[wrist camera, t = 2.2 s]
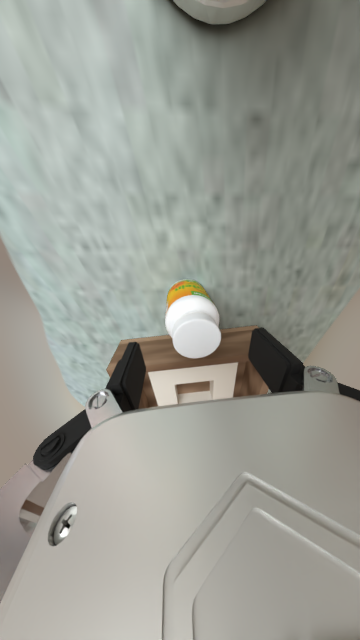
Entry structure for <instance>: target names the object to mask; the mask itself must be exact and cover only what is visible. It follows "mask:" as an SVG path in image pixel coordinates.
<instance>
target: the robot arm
mask: <svg viewBox="0 0 360 640" xmlns="http://www.w3.org/2000/svg"><path fill="white" fill-rule="evenodd" d="M173 1H174V2H175V3H176V5H177V6H179V7H180V8H181V9H183V10H184V11H185V12H186V13H188V14H189V15H190V16H192V17H193V18H195V19H198V20H200V21H203V22H206V23H209V24H229V23H232V22H235V21H237V20H240V19H242V18H245V17H247V16H248V15H249V14H251V13H252V12H253V11H255V10H256V9H257V8H259V7H260V6H261V5H263V4H264V3H265V2H266V0H173ZM248 358H249V360H250V362H251V363H252V365H253V366H254V367H255V369H256V370H257V372H258V373H259V375H260V376H261V378H262V379H263V381H264V382H265V383H266V385H267V386H268V388H269V389H270V391H271V392H272V393H269V394H260V395H251V396H242V397H233V398H224V399H215V400H206V401H198V402H189V403H181V404H173V405H164V406H157V407H150V408H142V409H139V404H140V399H141V394H142V389H143V384H144V379H145V374H146V365H145V362H144V359H143V355H142V352H141V348H140V345H139V343H137V342H129V343H128V345H127V347H126V350H125V352H124V354H123V356H122V359H121V360H119V361H118V362H117V365H116V367H115V369H114V371H113V373H112V375H111V378H110V380H109V382H108V384H107V386H106V388H105V389H102V390H99V391H97V392H95V393H94V394H93V395H91V396H90V398H89V399H88V400H87V402H86V405H85V410H83V411H82V412H81V413H79V414H78V415H77V416H75V417H74V418H73V419H71V420H70V421H68V422H67V423H66V424H65V425H63V426H62V427H60V428H59V429H58V430H56V431H55V432H54V433H52V434H51V435H50V436H48V437H47V438H46V439H45V440H44V441H43V442H42V443H41V444H40V445H39V447H38V448H37V450H36V452H35V454H34V456H33V460H32V461H31V462H30V463H29V464H28V465H27V464H25V465H24V466H22V467H21V468H20V470H19V471H17V472H16V473H15V474H14V475H13V476H12V478H11V479H9V480H8V481H7V482H6V483H5V485H4V486H2V487H1V489H0V640H360V391H359V390H357V389H354V388H351V387H349V386H346V385H343V384H340V383H338V382H337V380H336V378H335V377H334V375H332V374H331V373H330V372H328V371H327V370H325V369H323V368H320V367H316V366H307V367H305V366H304V365H303V363H302V362H301V361H300V360H299V359H298V358H297V357H296V356H295V355H293V354H292V353H291V352H290V351H289V350H288V349H287V348H286V347H284V346H283V345H282V344H281V343H280V342H279V341H278V340H276V339H275V338H274V337H273V336H272V335H271V334H270V333H269V332H267V331H266V330H265V329H264V328H255V329H254V330H253V331H252V335H251V341H250V346H249V352H248Z"/></svg>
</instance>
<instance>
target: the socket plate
mask: <svg viewBox="0 0 360 640" xmlns="http://www.w3.org/2000/svg"><path fill="white" fill-rule="evenodd" d="M237 366H238V362H237V363H228V364H219V365H210V366H200V367H191V368H182V369H173V370H164V371H154V372H148V374H149V378H150V381H151V384H152V387H153V391H154V394H155V397H156V401H157V404H158V406H164V405H173V404H181V403H189V402H198V401H206V400H215V399H224V398H233V392H234V386H235V379H236V373H237ZM203 381H210V391H203V392H193V393H184V394H178V392H177V386H176V384H185V383H194V382H203Z"/></svg>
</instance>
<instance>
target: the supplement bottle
mask: <svg viewBox="0 0 360 640" xmlns="http://www.w3.org/2000/svg"><path fill="white" fill-rule="evenodd" d="M165 325H166V329H167V331H168V333H169V335H170V336H171V337H172V340H173V345H174V348H175V349H176V351H177V352H178V353H179V354H181V355H182V356H185V357H188V358H202V357H205V356H208V355H209V354H211V353H212V352H214V351H215V350H216V349H217V347H218V346H219V344H220V341H221V332H220V329H219V327H218V326H219V313H218V310H217V308H216V306H215V305H214V303H213V302H212V300H211V299H210V297H209V296H208V294H207V293H206V291H205V290H204V288H203V287H202V286H201V285H200V284H199V283H198V282H196V281H194V280H191V279H184V280H180V281H178V282H176V283H175V284H173V285H172V286H171V288H170V289H169V292H168V295H167V305H166V316H165Z"/></svg>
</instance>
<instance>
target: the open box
mask: <svg viewBox="0 0 360 640" xmlns="http://www.w3.org/2000/svg"><path fill="white" fill-rule="evenodd" d="M255 328H259V327H258V326H257V325H256V326H247V327H238V328H229V329H220V332H221V341H220V344H219V346H218V347H217V349H216V350H215V351H214V352H212V353H211V354H209V355H208V356H205V357H202V358H188V357H185V356H182V355H181V354H179V353H178V352H177V351H176V349H175V348H174V345H173V340H172V337H171V336H170V335H164V336H155V337H146V338H137V339H127V340H121V341H120V343H119V345H118V347H117V349H116V351H115V353H114V355H113V357H112V359H111V361H110V363H109V365H108V367H107V369H106V370H107V372H108V374H109V376H110V378H111V375H112V373H113V371H114V369H115V367H116V365H117V362H118V361H119V360H121V359H122V356H123V354H124V352H125V350H126V347H127V345H128V343H129V342H137V343H139V345H140V348H141V352H142V355H143V359H144V362H145V365H146V374H145V379H144V384H143V389H142V394H141V399H140V404H139V409H142V408H150V407H157V406H158V404H157V401H156V397H155V394H154V391H153V387H152V384H151V381H150V378H149V374H148V372H154V371H164V370H173V369H182V368H191V367H200V366H210V365H219V364H228V363H237V362H238V366H237V373H236V379H235V386H234V392H233V397H242V396H251V395H260V394H267V392H268V389H269V388H268V386H267V385H266V383H265V382H264V381H263V379H262V378H261V376H260V375H259V373H258V372H257V370H256V369H255V367H254V366H253V365H252V363H251V362H250V360H249V358H248V352H249V346H250V341H251V335H252V331H253V330H254V329H255ZM176 386H177V392H178V394H184V393H193V392H203V391H210V381H203V382H194V383H185V384H176Z"/></svg>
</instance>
